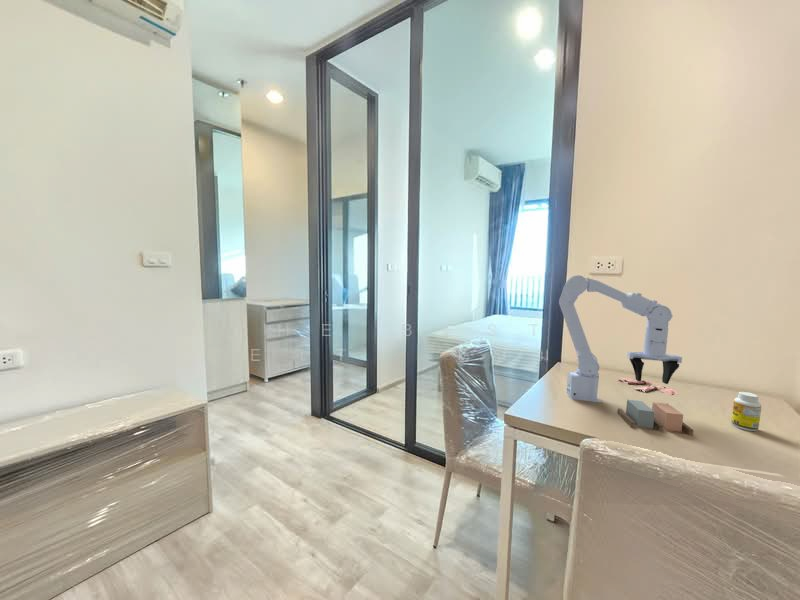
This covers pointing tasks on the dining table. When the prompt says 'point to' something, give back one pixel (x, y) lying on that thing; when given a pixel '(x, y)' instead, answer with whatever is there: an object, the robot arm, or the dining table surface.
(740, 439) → the dining table surface
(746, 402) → the supplement bottle
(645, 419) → the slate block
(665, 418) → the plug block
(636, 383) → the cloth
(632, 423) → the comb rack
